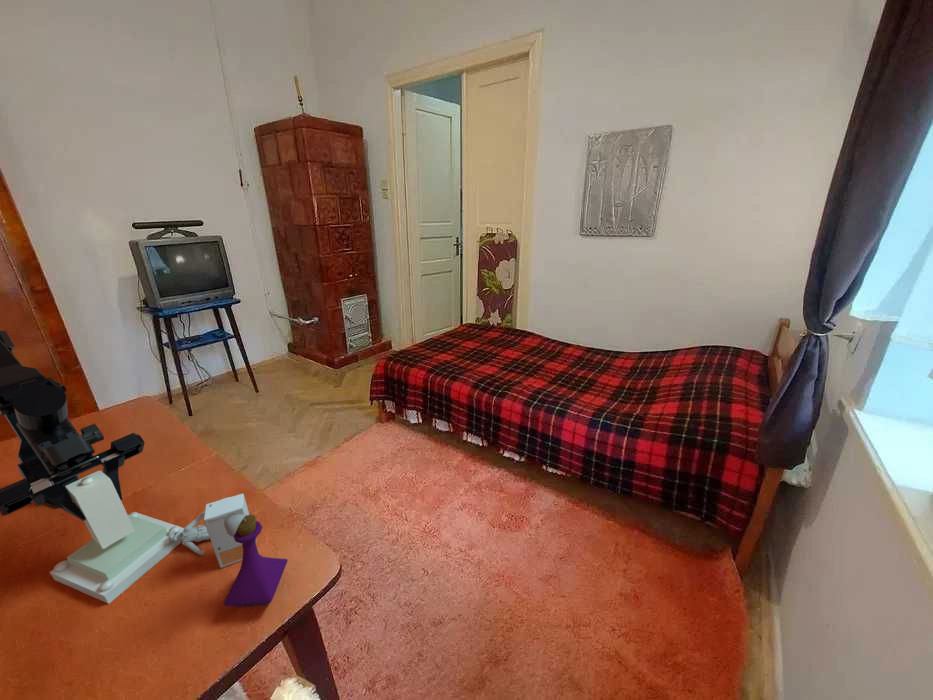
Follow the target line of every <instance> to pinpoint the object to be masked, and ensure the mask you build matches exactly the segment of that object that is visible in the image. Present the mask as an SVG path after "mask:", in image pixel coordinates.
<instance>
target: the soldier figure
mask: <svg viewBox="0 0 933 700" xmlns="http://www.w3.org/2000/svg"><path fill="white" fill-rule="evenodd" d="M204 515H205V510H204V511H202V512H201V513H200V514H199V515H198V516H197V517H195V518H194V520H193V521H191V522H190V523H188V524H187V525H186V526H184V527H183V528H184V530H183V532H182V533H179V534H180V538H179V539H181V540H182V542H181V543H182V545H184V546H185V547H186V548H188V549H189V550H191V551H192V552H194V553H196V554H198V555H201V556H204V554H205V551H203V550H200V548H199V547H198V546H197V545H196V544H194V542H196V543H197V542H200V543H201V541H209V540H210V537H209V534H208V531H207V528H206V525H203V524H198V523H199V522H200V521H201V520H202V519H203V517H204ZM197 524H198V525H197ZM196 525H197V526H196ZM178 536H179V535H178V532H177V533H176V532H175V530H174V531H172V532H171V533H170V534H169V543H173V544H174V542H175V541H176V540H177V539H178Z"/></svg>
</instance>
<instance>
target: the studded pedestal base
mask: <svg viewBox="0 0 933 700" xmlns="http://www.w3.org/2000/svg"><path fill="white" fill-rule="evenodd" d="M127 515H128V517H129V519H130V521H131V523H132V525H133V527H134V529H135V531H133V532H131V533H130V534H128V535H126V536H125V537H123V538H121V539H120V540H118V541H116V542H115V543H113V544H111V545H109V546H108V547H106V548H104V549H102V548H101V546H100V545H99V544H98V543H97V542H96V541H95V540H94V539H93V538H92V539H91V540H89V541H88V542H87V543H85V544H84V545H82V546H81V547H79V548H78V549H76V550H75V551H74V552H72V553H71V554H69V555H68V556H66V559H67V560H62V561H60V562H58V563H57V564H55V565H54V567H53V569H52V570H51V571H49V573H50V576H52V577H51V578H53V580H54V581H56V582H58V583H61V584H62V585H65V586H68V587H70V588H71V589H74V590H76V591H78V592H81V593H84V594H85V595H87V596H90V597H92V598H94V599H97V600H99V601H101V602H104V603H106V604H108V605H109V604H110V603H112V602H113V601H114V600H115V599H117V598H118V596H120V595H121V594H122V593H124V592H125V591H126V590H127V589H128V588H130V586H132V585H133V584H134V583H135V582H136V581H137V580H139V579H140V578H141V577H142V576H144V575H145V574H146V573H147V572H148V571H149V570H151V569H152V568H153V567H154V566H155V565H156V564H158V563H159V562H160V561H161V560H162V559H163V558H165V557H166V556H167V555H169V553H170V552H172V551H173V550H174V549H175V548H176V547H178V546H179V545H180V544H181V543H182V540H181V539H179V538H180V534H179V533H182V532H183V530H184V528H185V527H183V526H182V527H181V526H179V525H176V524H172V523H170V522H166V521H164V520H160V519H157V518H154V517H151V516H149V515H145V514H142V513H139V512H137V511H133V512H130V513H129V514H127ZM174 530H175V532H176V533H177V532H178V535H179V536H178V539H177V540H176V541H175V542H174V544H173V543H169V534H170V533H171V532H172V531H174Z"/></svg>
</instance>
